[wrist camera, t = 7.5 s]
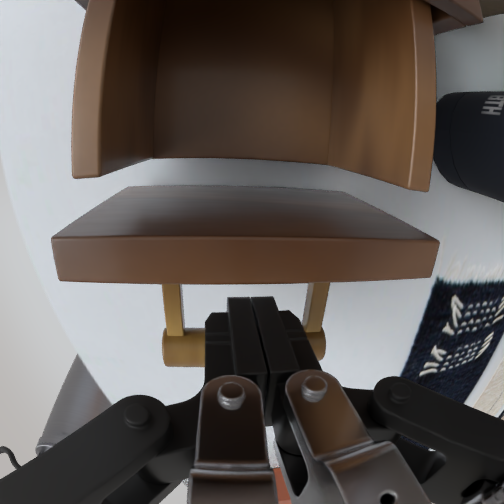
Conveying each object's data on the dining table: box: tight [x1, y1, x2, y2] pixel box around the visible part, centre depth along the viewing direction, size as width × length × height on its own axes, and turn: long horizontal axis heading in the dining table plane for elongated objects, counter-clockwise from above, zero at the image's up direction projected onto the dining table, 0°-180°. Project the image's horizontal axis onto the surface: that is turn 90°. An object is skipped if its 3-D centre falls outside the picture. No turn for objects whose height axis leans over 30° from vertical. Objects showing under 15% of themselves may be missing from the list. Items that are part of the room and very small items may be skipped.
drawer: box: [51, 0, 440, 367], centre depth 9 cm, size 17×10×7 cm, turn 177°
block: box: [273, 468, 291, 504], centre depth 24 cm, size 4×4×4 cm
